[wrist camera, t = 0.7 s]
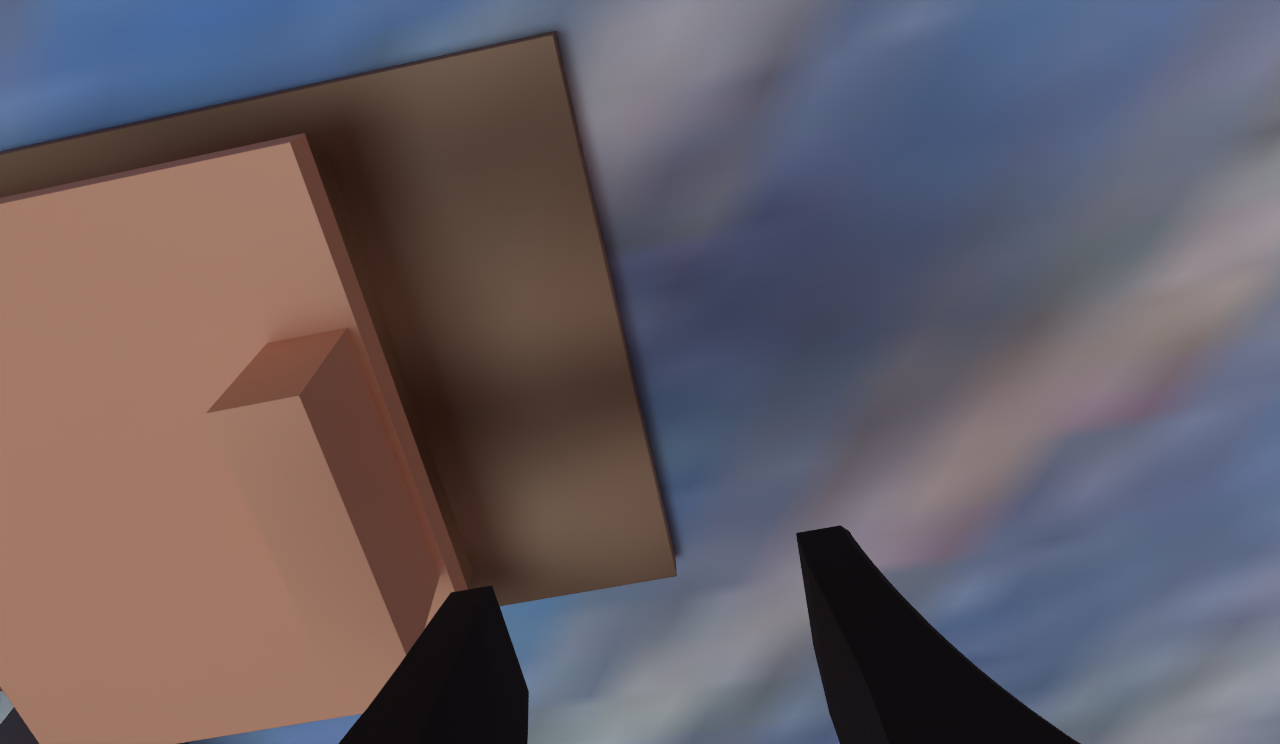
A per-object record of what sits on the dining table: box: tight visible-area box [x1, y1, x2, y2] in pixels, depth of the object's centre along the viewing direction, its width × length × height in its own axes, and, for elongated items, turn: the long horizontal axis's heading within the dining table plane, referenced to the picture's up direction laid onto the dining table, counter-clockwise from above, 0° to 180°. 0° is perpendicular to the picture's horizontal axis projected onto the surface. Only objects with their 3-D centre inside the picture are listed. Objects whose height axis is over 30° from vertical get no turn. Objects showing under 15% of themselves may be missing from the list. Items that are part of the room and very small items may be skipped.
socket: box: [0, 31, 677, 691], centre depth 21 cm, size 14×20×3 cm
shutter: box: [0, 133, 468, 744], centre depth 18 cm, size 13×11×4 cm
